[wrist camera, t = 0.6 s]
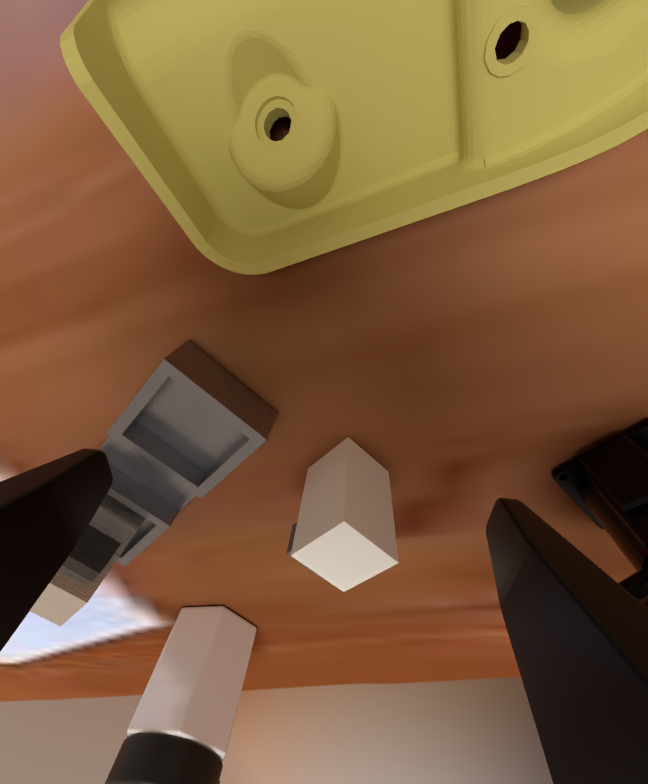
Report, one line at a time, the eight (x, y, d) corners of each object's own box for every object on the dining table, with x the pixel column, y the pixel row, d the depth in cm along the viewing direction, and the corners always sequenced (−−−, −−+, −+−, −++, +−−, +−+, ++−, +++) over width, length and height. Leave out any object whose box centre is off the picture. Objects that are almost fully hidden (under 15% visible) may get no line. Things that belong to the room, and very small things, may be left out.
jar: (194, 649, 38) (130, 816, 28) (162, 606, 35) (75, 779, 24) (269, 647, 37) (232, 825, 26) (244, 602, 33) (189, 787, 22)
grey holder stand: (277, 412, 22) (236, 514, 15) (146, 534, 29) (73, 644, 22) (189, 339, 20) (90, 414, 13) (71, 488, 28) (-36, 592, 20)
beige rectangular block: (388, 471, 24) (398, 563, 18) (336, 507, 26) (329, 599, 20) (348, 436, 23) (343, 521, 17) (297, 476, 25) (276, 564, 19)
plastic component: (225, 287, 17) (8, -8, 9) (247, 212, 21) (112, -30, 13) (761, 102, 11) (1409, -1173, 3) (636, 51, 15) (786, -540, 8)
